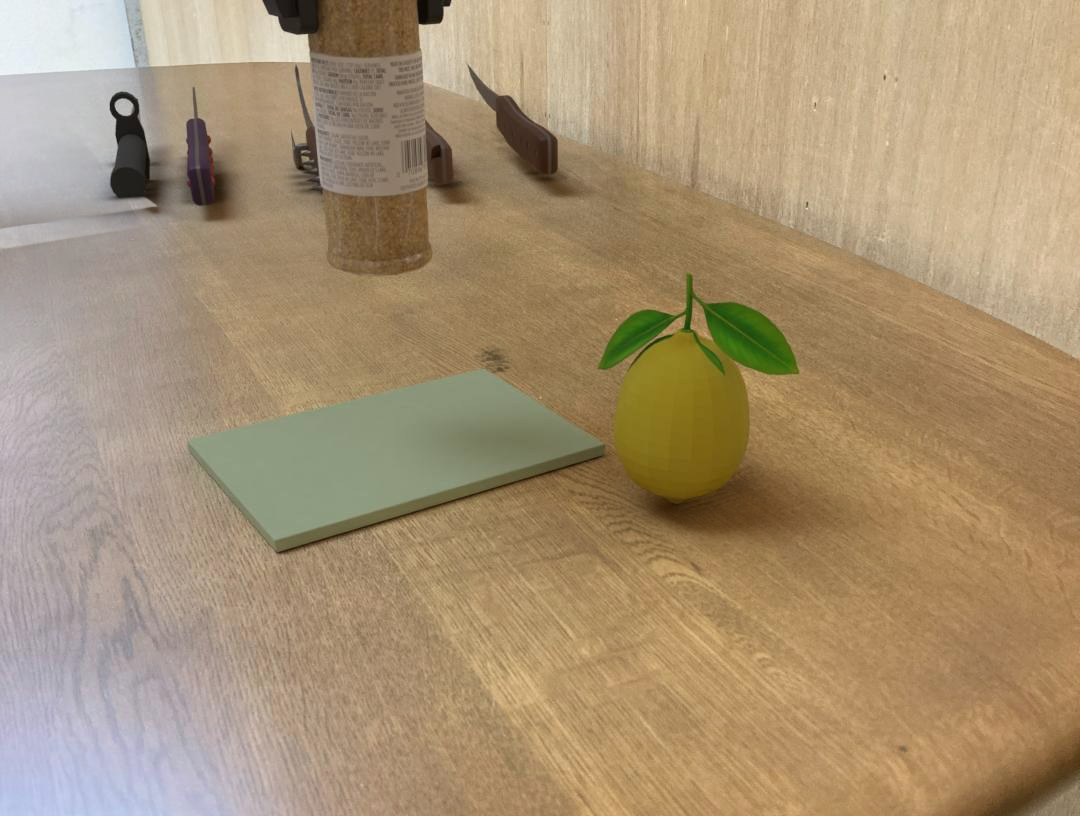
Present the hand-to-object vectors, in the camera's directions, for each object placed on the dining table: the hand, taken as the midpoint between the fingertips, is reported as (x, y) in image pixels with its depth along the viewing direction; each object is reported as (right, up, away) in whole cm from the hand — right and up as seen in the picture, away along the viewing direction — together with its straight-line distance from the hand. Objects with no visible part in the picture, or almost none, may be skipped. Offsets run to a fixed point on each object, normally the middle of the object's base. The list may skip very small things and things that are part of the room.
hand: (362, 24), depth 44 cm
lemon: (+13, -18, +5) cm, 23 cm away
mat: (0, -16, +9) cm, 18 cm away
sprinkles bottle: (0, -8, +5) cm, 10 cm away
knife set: (-13, +14, +60) cm, 62 cm away
